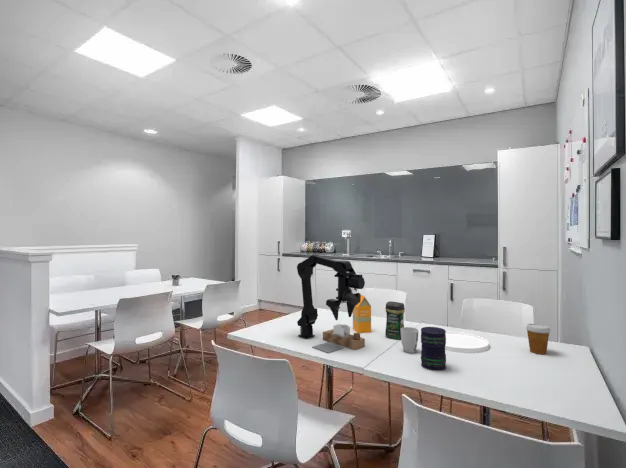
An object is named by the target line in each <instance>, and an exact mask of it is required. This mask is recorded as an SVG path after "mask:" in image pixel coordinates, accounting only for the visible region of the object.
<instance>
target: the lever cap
mask: <svg viewBox="0 0 626 468" xmlns="http://www.w3.org/2000/svg"><path fill="white" fill-rule="evenodd" d="M332 329H333V332H334V334H337V335H340V336H347V335H350V334H351V327H350V326H349V325H348V324H341V323H338V324H334V325H333V328H332Z"/></svg>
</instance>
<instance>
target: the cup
mask: <svg viewBox="0 0 626 468" xmlns="http://www.w3.org/2000/svg"><path fill="white" fill-rule="evenodd" d="M400 330H401V339H400V340H401V346H402V348H403V351H404V352H405V353H408V354H409V353H410V354H413V353H416V350H417V347H418V342H419V329H418V328H416V327H411V326H406V327H405V326H404V327H403V328H401V329H400Z"/></svg>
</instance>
